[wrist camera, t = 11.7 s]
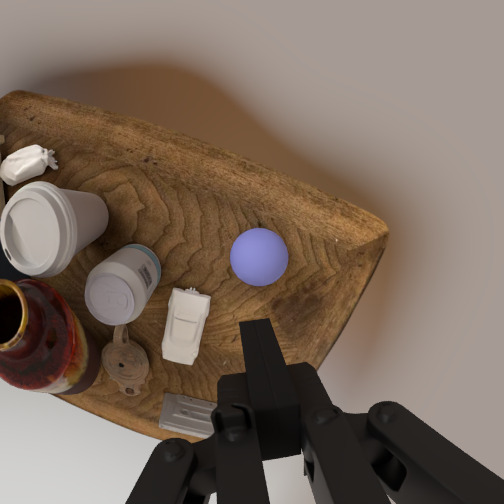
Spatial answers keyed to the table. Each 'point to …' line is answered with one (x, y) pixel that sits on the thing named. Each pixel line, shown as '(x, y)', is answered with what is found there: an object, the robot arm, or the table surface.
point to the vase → (43, 340)
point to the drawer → (1, 184)
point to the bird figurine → (26, 164)
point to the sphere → (259, 257)
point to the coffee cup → (49, 227)
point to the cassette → (187, 415)
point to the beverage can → (122, 284)
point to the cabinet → (9, 268)
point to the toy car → (184, 325)
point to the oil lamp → (125, 362)
